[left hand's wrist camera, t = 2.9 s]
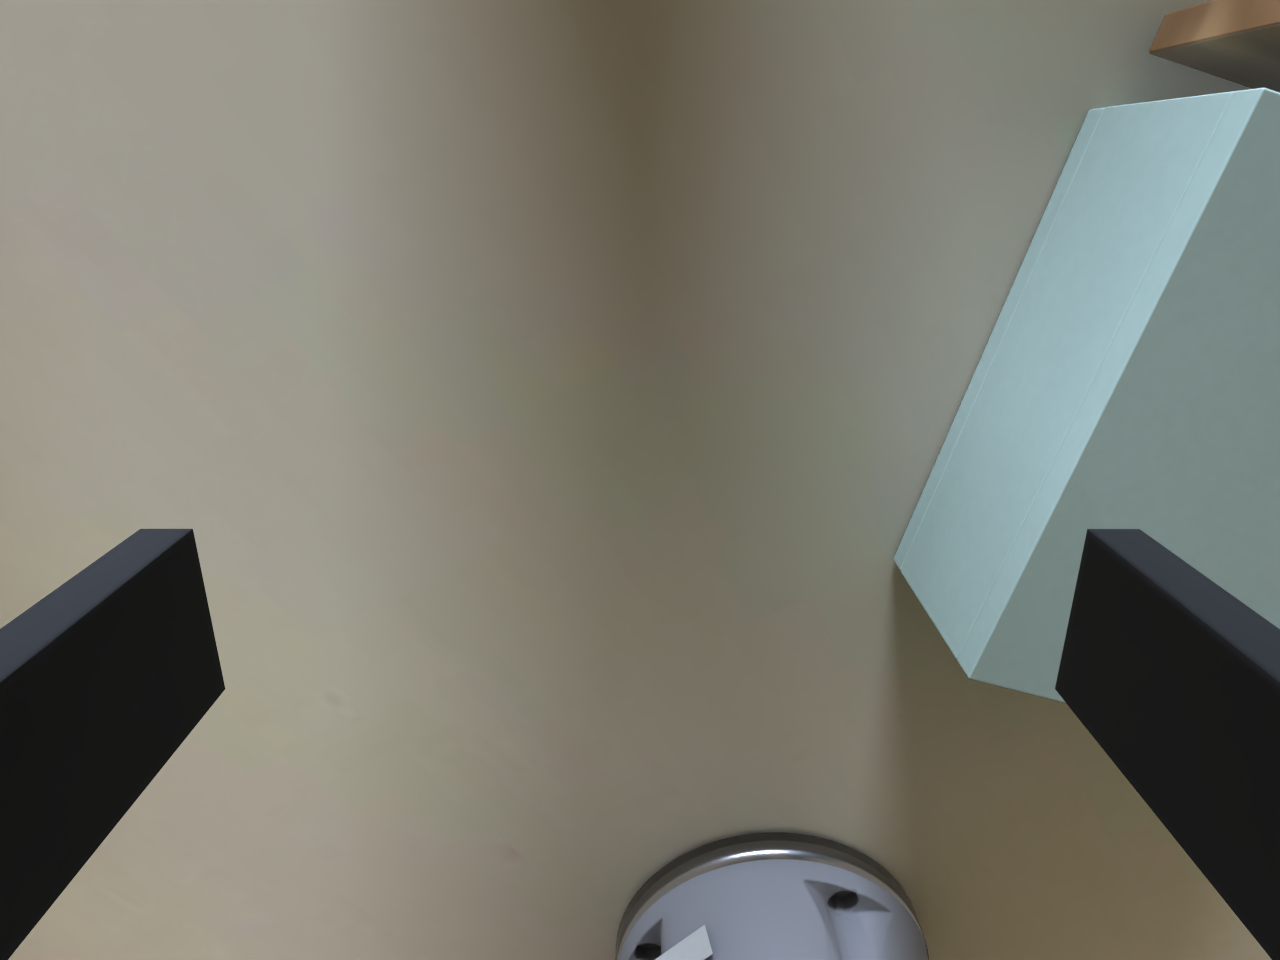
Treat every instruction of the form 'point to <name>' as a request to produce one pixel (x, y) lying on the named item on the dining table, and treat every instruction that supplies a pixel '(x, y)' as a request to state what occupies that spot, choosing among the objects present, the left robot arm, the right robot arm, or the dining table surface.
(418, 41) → the dining table surface
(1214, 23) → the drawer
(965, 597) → the grey boxy piece
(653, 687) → the dining table surface
